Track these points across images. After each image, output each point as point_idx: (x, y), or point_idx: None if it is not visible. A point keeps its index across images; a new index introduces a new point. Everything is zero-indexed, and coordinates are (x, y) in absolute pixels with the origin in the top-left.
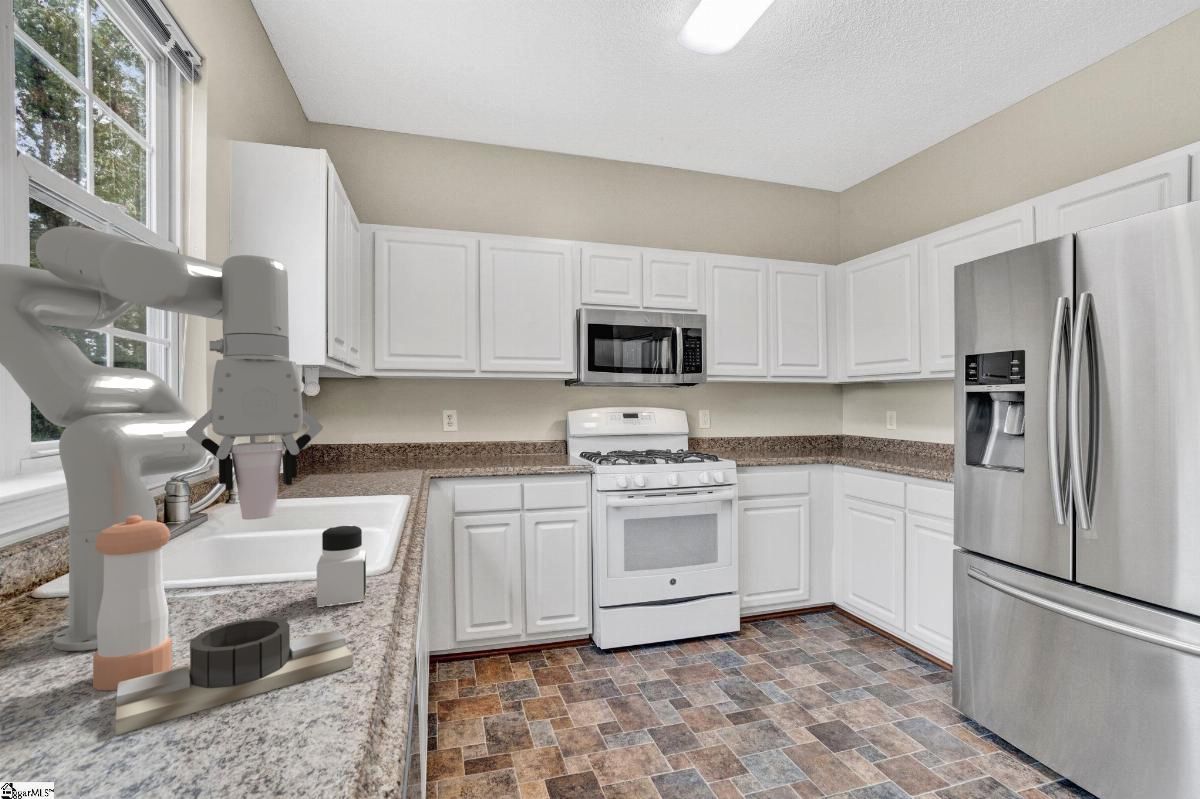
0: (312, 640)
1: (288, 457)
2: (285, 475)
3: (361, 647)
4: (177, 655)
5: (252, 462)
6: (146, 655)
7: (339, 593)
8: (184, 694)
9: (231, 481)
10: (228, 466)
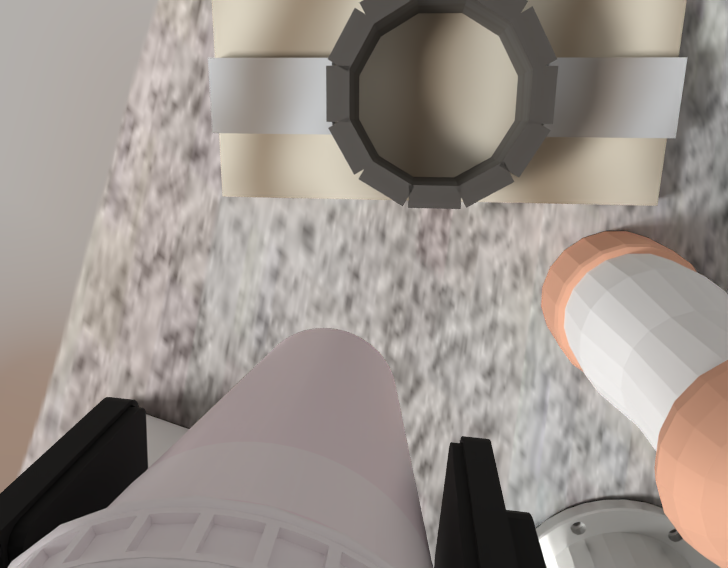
0: (278, 99)
1: (2, 517)
2: (116, 445)
3: (181, 100)
4: (522, 353)
5: (314, 473)
6: (613, 246)
7: (156, 435)
8: (560, 21)
9: (462, 468)
10: (494, 546)
